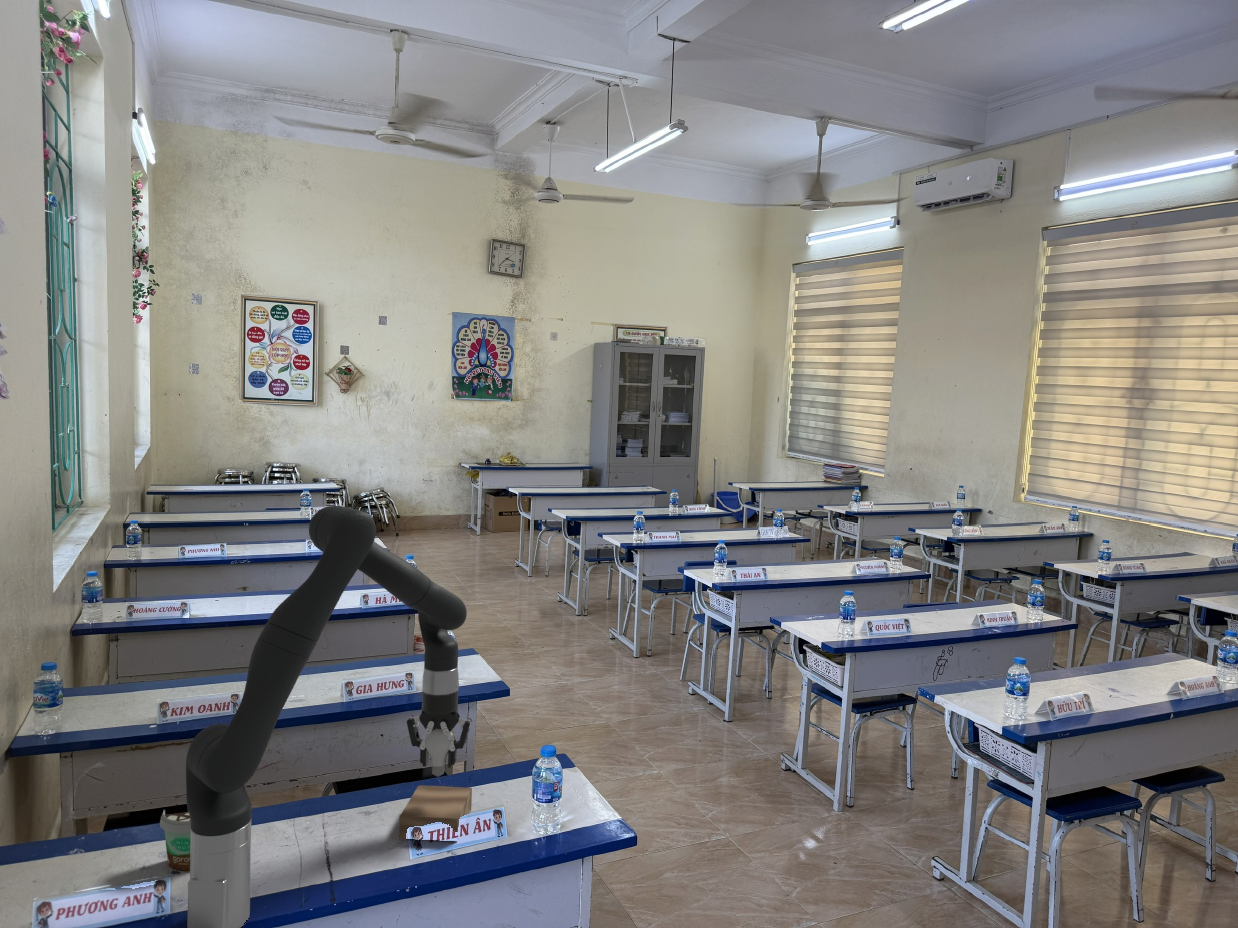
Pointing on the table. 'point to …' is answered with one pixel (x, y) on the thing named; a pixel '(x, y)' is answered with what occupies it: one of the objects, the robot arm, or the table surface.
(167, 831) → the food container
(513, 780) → the table surface
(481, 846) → the table surface
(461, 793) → the block
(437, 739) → the lightbulb
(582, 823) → the table surface
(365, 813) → the table surface
